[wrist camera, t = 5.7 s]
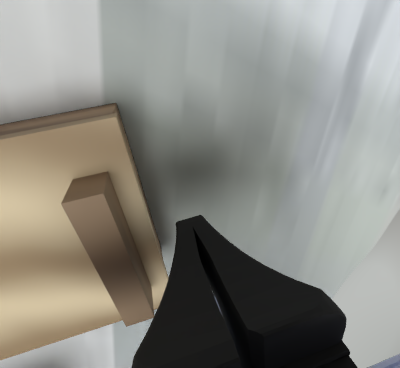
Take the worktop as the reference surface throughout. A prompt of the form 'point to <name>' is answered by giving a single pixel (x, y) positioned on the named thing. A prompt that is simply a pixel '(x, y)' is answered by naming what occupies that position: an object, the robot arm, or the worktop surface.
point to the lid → (73, 235)
